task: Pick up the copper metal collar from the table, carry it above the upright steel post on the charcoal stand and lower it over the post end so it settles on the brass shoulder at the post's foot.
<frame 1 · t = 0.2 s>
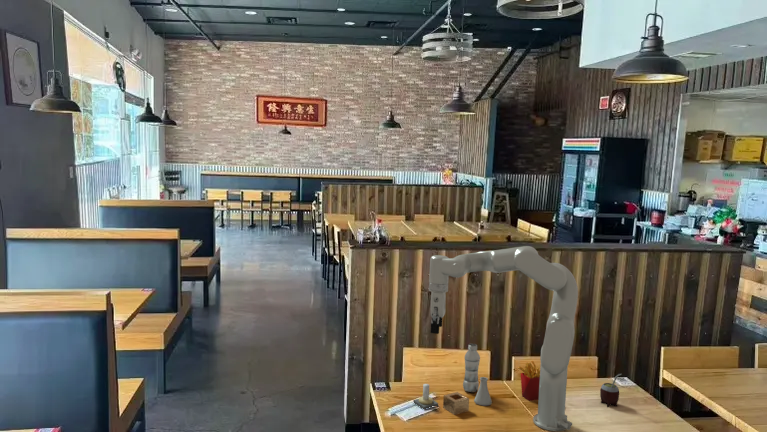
hand: (436, 329, 207), 30 cm above the table, tool pointing down, fingers open, 9 cm apart
mate gourd: (609, 405, 214), on the table
post stand: (425, 404, 209), on the table
french fries: (527, 397, 219), on the table
plastic bottle: (470, 391, 223), on the table
collar: (455, 409, 205), on the table
flask: (482, 402, 212), on the table
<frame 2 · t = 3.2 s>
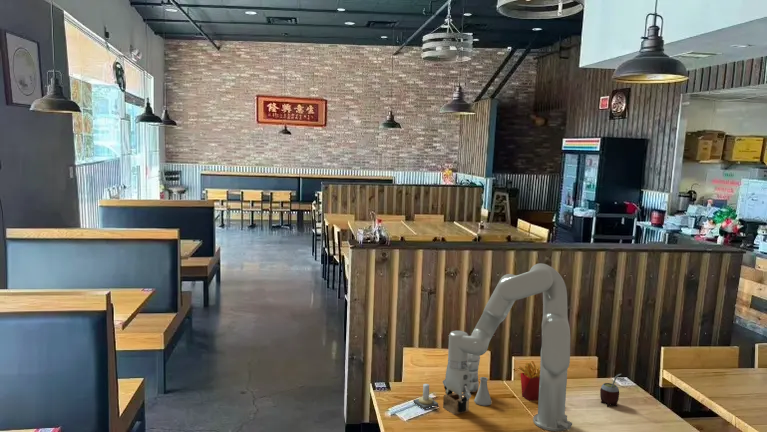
hand: (455, 407, 205), 1 cm above the table, tool pointing down, fingers closed on collar, 7 cm apart
collar: (455, 409, 205), on the table, touching gripper
everything else where it was.
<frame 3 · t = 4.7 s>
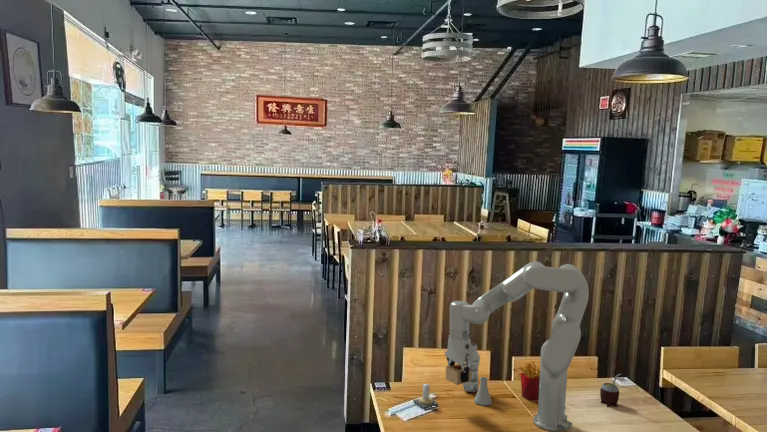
hand: (458, 378, 204), 13 cm above the table, tool pointing down, fingers closed on collar, 7 cm apart
collar: (458, 380, 204), point 12 cm above the table, touching gripper
everything else where it was.
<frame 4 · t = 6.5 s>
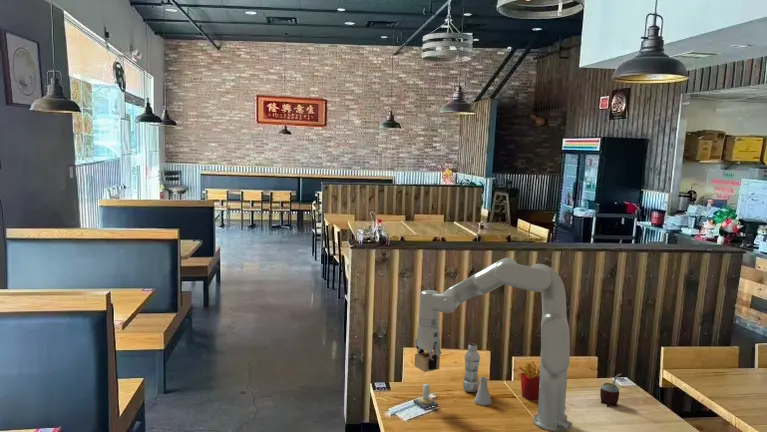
hand: (426, 365, 207), 16 cm above the table, tool pointing down, fingers closed on collar, 7 cm apart
collar: (426, 367, 208), point 15 cm above the table, touching gripper
everything else where it was.
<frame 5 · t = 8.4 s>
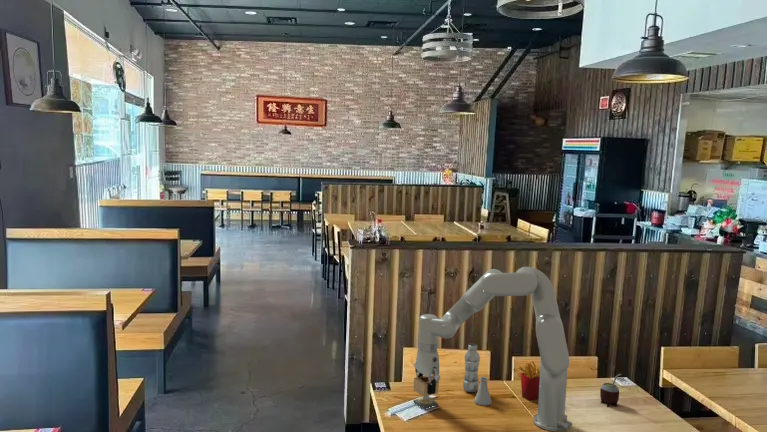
hand: (425, 389, 208), 6 cm above the table, tool pointing down, fingers closed on collar, 7 cm apart
collar: (425, 391, 208), point 5 cm above the table, touching gripper
everything else where it was.
when the fingers open (4 cm above the table, at t = 10.2 s): collar drops 1 cm, resting on post stand.
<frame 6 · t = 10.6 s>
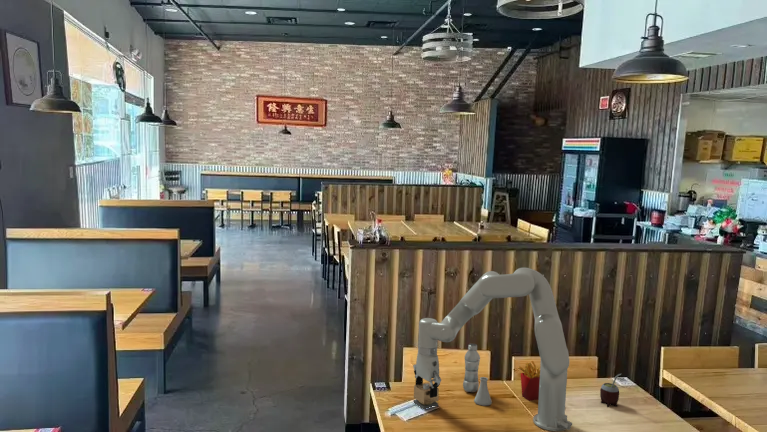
hand: (426, 392, 208), 5 cm above the table, tool pointing down, fingers open, 9 cm apart
collar: (425, 399, 208), point 2 cm above the table, touching post stand
everything else where it was.
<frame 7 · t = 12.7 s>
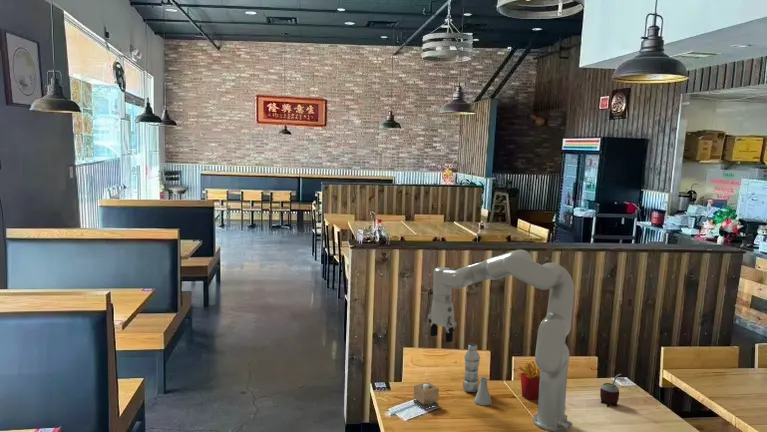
hand: (441, 338, 216), 24 cm above the table, tool pointing down, fingers open, 9 cm apart
nothing on the table moved.
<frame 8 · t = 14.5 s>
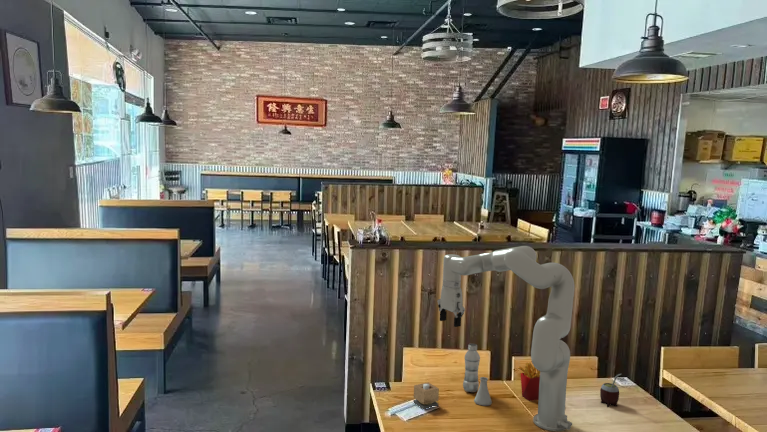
hand: (449, 323, 224), 28 cm above the table, tool pointing down, fingers open, 9 cm apart
nothing on the table moved.
at the end: collar 0.1 cm off-centre on the post stand, point 2.2 cm above the post stand's base; the gripper is holding nothing; collar tilted 0° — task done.
